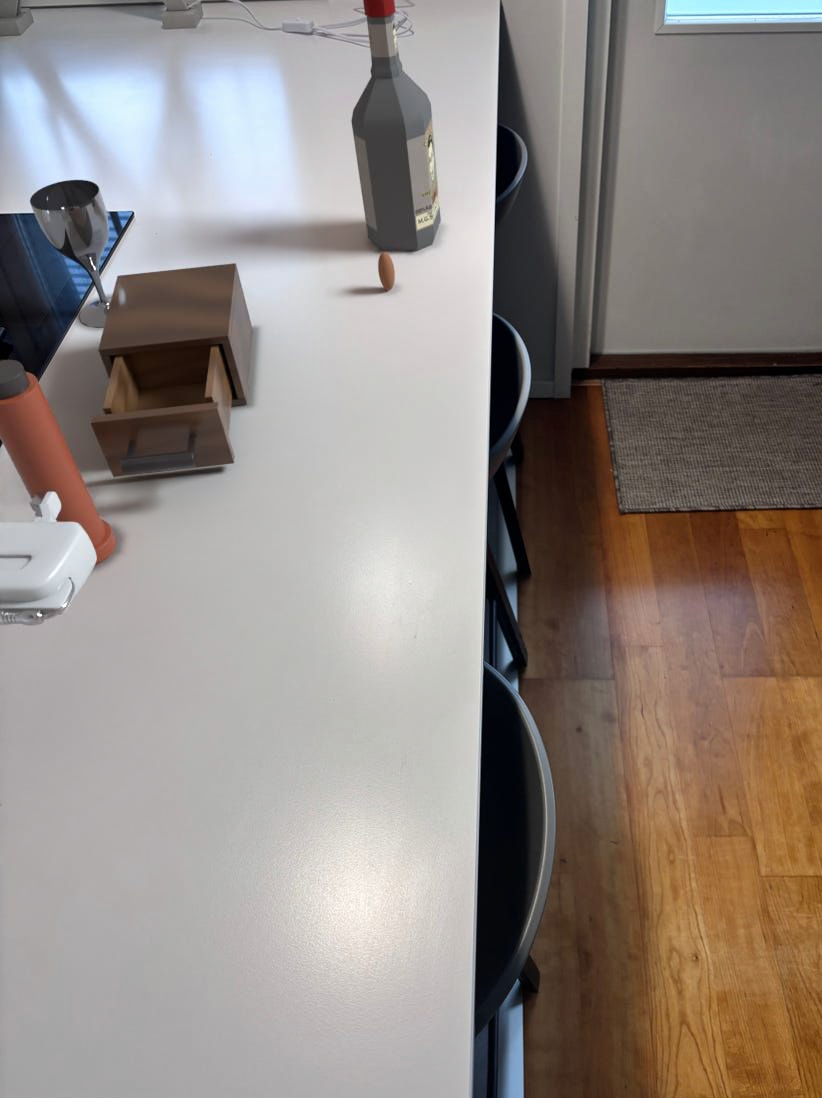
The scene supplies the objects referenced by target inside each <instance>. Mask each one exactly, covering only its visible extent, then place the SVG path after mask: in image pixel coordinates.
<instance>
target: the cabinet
mask: <svg viewBox="0 0 822 1098" xmlns="http://www.w3.org/2000/svg"><path fill="white" fill-rule="evenodd" d="M243 289H244V288H243V285H242V282H241V277H240V274H239V270H238V265H237V263H236V262H235V263H224V264H214V265H206V266H197V267H185V268H177V269H176V268H175V269H169V270H158V271H149V272H140V273H139V272H138V273H130V274H120V275H117V277H116V280H115V284H114V288H113V292H112V294H111V297H112V299H111V303H110V307H109V310H108V314H107V318H106V322H105V325H104V327H103V330H102V334H101V336H100V341H99V345H98V348H97V351H98V355H99V356H100V359H101V361H102V364H103V366H104V369H105V371H106V374H107V376H108V380H110V376H111V372H112V368H113V363H114V359H115V355H121V354H130V353H139V352H148V351H158V350H167V349H176V348H185V347H194V346H203V345H212V344H222V345H223V349H224V352H225V356H226V359H227V363H228V366H229V370H230V373H231V377H232V380H233V393H232V404H231V407H236V406H247V405H248V397H249V385H250V374H251V373H250V372H251V358H252V344H253V332H254V329H253V325H252V321H251V316H250V313H249V309H248V305H247V302H246V298H245V292H244V290H243Z"/></svg>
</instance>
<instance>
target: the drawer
mask: <svg viewBox="0 0 822 1098" xmlns="http://www.w3.org/2000/svg"><path fill="white" fill-rule="evenodd" d="M108 380H109V381H108V385H107V389H106V393H105V397H104V401H103V404H102V405H103V406H102V411H103V413H104V414H97V415H91V419H90V422H89V423H90V426H91V428H92V430H93V433H94V435H95V438H96V440H97V442H98V444H99V447H100V449H101V451H102V454H103V457H104V458H105V461H106V463H107V466H108V467H109V470H110V473H111V475H112V477H114V478H118V477H127V476H134V475H135V476H136V475H143V474H153V473H161V472H170V471H171V472H172V471H180V470H187V469H188V470H190V469H197V468H198V469H199V468H206V467H214V466H224V465H233V464H235V458H236V456H235V453H234V450H233V446H232V443H231V439H230V436H229V434H230V425H231V424H230V423H231V415H232V406H231V404H232V393H233V380H232V377H231V373H230V370H229V366H228V363H227V359H226V356H225V352H224V349H223V345H222V344H212V345H203V346H194V347H185V348H176V349H167V350H158V351H148V352H139V353H130V354H121V355H115V359H114V363H113V368H112V372H111V376H110V379H108Z"/></svg>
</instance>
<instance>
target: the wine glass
mask: <svg viewBox="0 0 822 1098" xmlns="http://www.w3.org/2000/svg"><path fill="white" fill-rule="evenodd" d="M29 204H30V207H31V209H32V212H33V214H34V216H35V219H36V221H37V223H38V225H39V227H40V229H41V231H42V233H43V234H44V236H45V237H46V239H47V240H48V242H49V243H50V245H51V246H52V247H53V248H54V250H56V251H57V252H58V253H60V254H61V255H62V256H64V257H66V258H67V259H69V260H71V261H73V262H74V263H76V264H78V265H79V266H80V267H81V268H82V269H84V271H85V272H86V273H87V275H88V277H89V278H90V280H91V282H92V284H93V285H94V288H95V290H96V293H97V295H98V298H99V299H98V300H96V301H93V302H91V303H89V304H88V305H86V306H85V307H84V308H83V309H82V310H81V311H80V313H79V320H80V322H81V323H82V324H83V325H86V326H88V327H92V328H104V325H105V322H106V318H107V314H108V310H109V307H110V303H111V299H112V296H111V297H107V296H106V293H105V291H104V288H103V285H102V281H101V275H100V272H99V268H100V267H99V265H100V262H101V257H102V255H103V253H104V251H105V249H106V247H107V245H108V241H109V238H110V226H109V225H110V224H109V217H108V213H107V208H106V205H105V200H104V197H103V195H102V192H101V189H100V187H99V185H98V184H97V183H95V182H93V181H92V180H91V181H90V180H86V179H68V180H62V181H57V182H54V183H51V184H48V185H46V186H44V187H42V188H40V189H38V190H37V191H35V192H34V193H33V194H32V195H31V197H30V199H29Z"/></svg>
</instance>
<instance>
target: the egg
mask: <svg viewBox="0 0 822 1098" xmlns="http://www.w3.org/2000/svg"><path fill="white" fill-rule="evenodd" d="M377 262H378V263H377V270H378V277H379V281H380V283H381V285H382V287H383V288H384V289H385V290H386V291H391V290H392V289H393V288H394V284H395V280H396V271H395V266H394V262H393V259H392V258H391V256H390V254H389V253H388V252H386V251H383V252H381V253H380V254H379V257H378V261H377Z"/></svg>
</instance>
